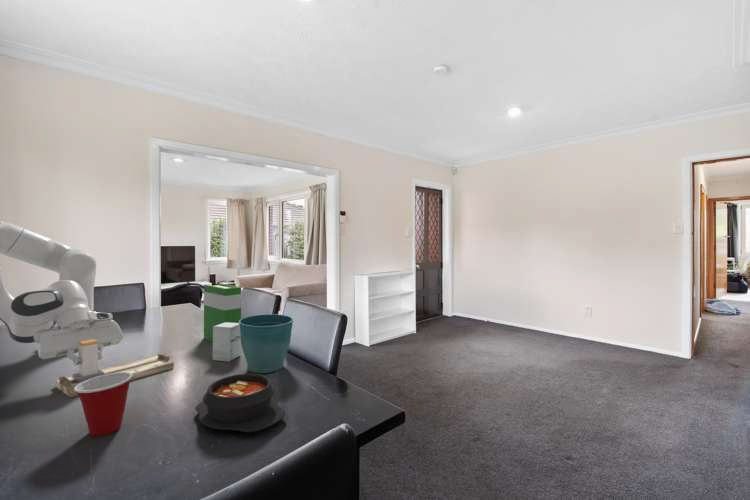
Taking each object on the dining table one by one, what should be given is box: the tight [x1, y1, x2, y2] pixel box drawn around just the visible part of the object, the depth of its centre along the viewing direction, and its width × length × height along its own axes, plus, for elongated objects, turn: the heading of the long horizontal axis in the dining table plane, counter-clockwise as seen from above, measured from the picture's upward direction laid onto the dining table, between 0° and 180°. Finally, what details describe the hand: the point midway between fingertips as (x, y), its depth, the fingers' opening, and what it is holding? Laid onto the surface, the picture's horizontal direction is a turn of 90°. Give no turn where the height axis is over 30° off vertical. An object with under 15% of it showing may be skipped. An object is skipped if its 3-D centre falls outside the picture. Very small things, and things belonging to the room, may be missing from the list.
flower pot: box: [239, 313, 294, 374], centre depth 123 cm, size 18×18×17 cm
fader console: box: [55, 352, 175, 398], centre depth 113 cm, size 12×28×4 cm, turn 146°
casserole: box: [195, 373, 286, 433], centre depth 89 cm, size 25×19×8 cm
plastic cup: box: [74, 372, 132, 438], centre depth 82 cm, size 11×11×12 cm
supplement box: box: [212, 322, 242, 362], centre depth 132 cm, size 7×7×13 cm
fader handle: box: [71, 339, 104, 383], centre depth 106 cm, size 6×6×11 cm
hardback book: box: [203, 282, 242, 342], centre depth 154 cm, size 18×7×24 cm, turn 52°
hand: (89, 361), depth 106 cm, fingers closed on fader handle, 4 cm apart
